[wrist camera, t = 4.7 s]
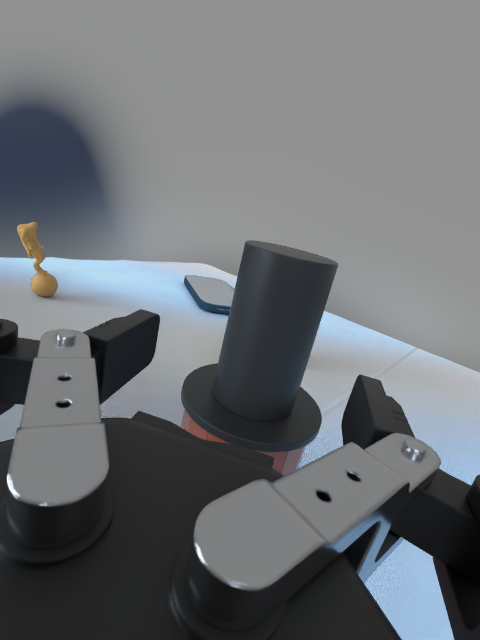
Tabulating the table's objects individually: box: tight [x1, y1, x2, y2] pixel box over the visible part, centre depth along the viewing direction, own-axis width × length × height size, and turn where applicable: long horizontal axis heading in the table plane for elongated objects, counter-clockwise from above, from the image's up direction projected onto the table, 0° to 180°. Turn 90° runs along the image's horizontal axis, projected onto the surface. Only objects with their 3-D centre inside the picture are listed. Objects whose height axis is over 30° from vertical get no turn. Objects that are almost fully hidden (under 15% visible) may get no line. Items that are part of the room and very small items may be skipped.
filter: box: [181, 241, 338, 452], centre depth 22 cm, size 10×10×12 cm
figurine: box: [17, 222, 58, 297], centre depth 56 cm, size 8×6×12 cm
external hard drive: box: [184, 275, 235, 314], centre depth 80 cm, size 24×12×2 cm, turn 19°
